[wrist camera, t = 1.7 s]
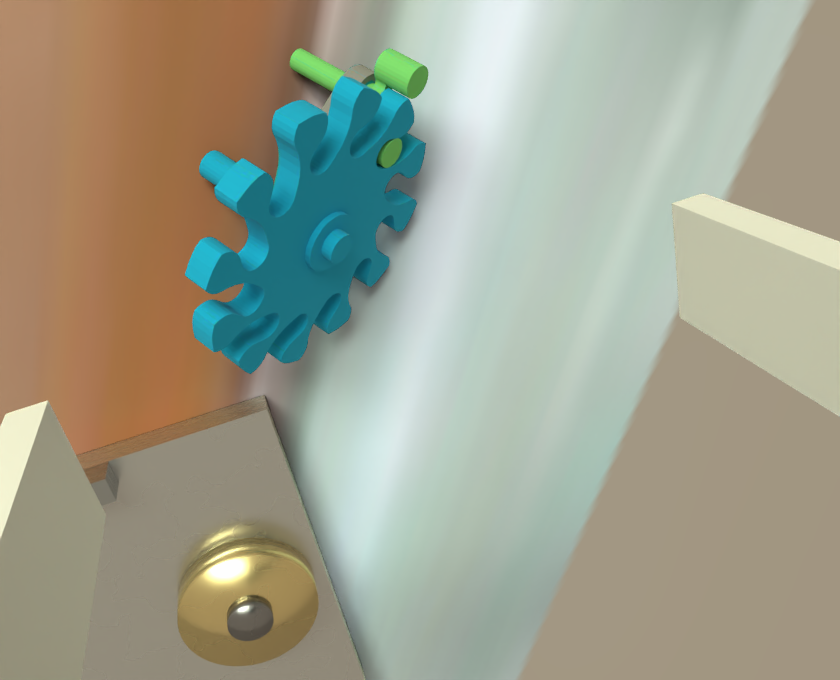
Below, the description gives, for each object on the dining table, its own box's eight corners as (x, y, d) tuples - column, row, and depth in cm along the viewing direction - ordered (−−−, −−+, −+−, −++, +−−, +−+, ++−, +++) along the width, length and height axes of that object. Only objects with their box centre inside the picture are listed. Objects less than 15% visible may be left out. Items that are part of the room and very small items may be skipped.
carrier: (264, 395, 30) (271, 432, 28) (363, 671, 37) (376, 722, 35) (-224, 553, 28) (-268, 611, 25) (-17, 817, 35) (-34, 885, 32)
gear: (323, 394, 29) (159, 366, 20) (214, 313, 31) (16, 252, 22) (483, 145, 28) (393, -8, 19) (362, 78, 30) (225, -90, 21)
